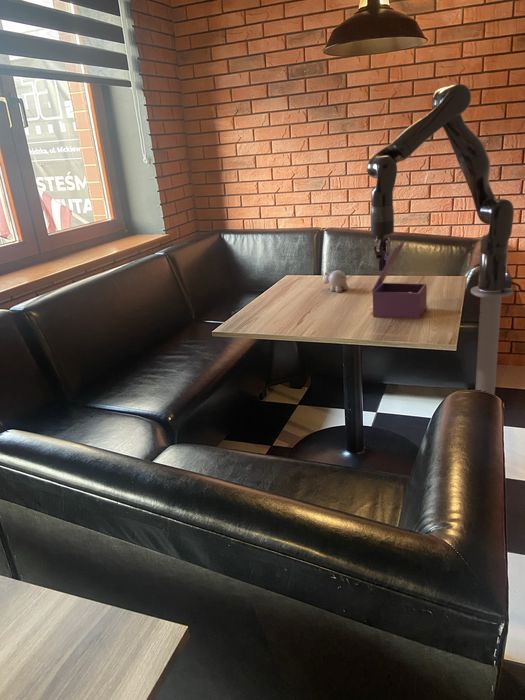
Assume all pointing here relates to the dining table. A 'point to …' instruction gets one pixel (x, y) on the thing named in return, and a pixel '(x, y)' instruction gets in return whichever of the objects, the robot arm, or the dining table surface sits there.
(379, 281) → the lid
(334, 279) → the chubby cartoon animal
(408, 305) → the box
